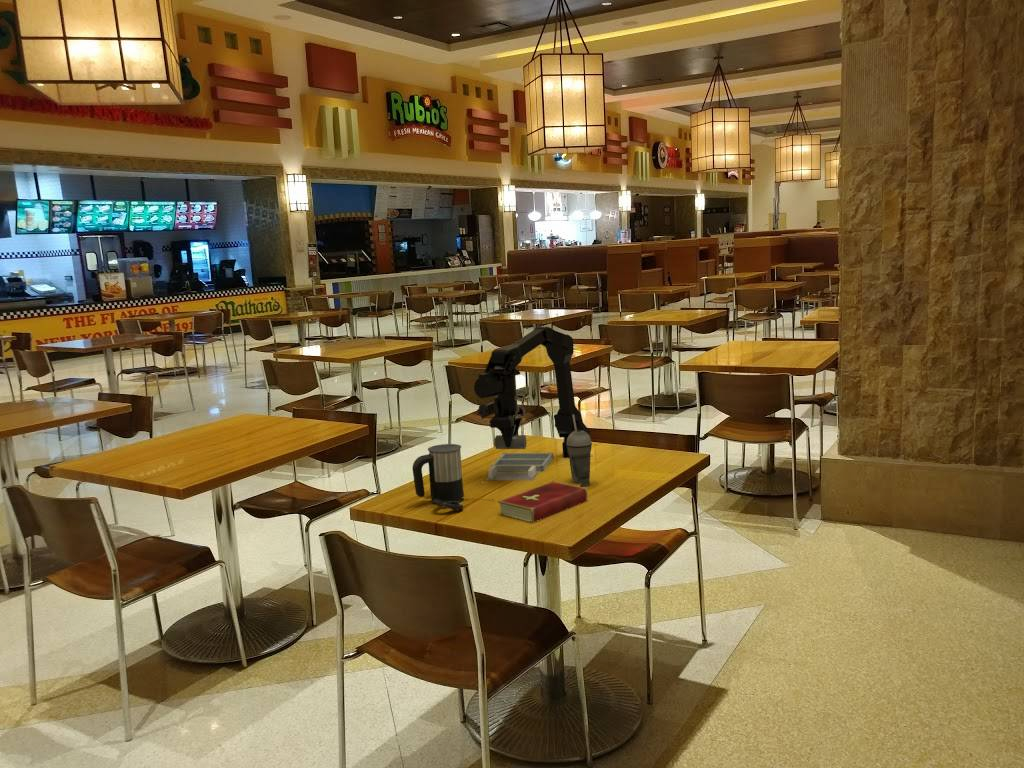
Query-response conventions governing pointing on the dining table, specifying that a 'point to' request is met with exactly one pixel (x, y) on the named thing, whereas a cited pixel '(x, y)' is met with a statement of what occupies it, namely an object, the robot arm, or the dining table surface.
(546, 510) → the hardcover book
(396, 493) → the dining table surface
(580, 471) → the beverage cup
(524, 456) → the cell tray
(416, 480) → the milk frother
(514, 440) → the battery cell
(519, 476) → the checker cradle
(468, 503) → the dining table surface
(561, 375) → the robot arm
